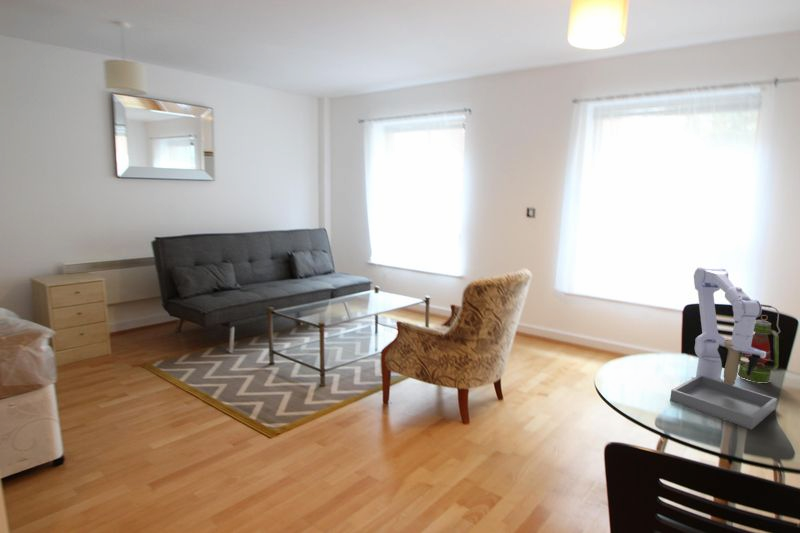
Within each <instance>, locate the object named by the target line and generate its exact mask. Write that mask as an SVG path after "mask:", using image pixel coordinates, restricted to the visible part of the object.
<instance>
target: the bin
mask: <svg viewBox="0 0 800 533" xmlns="http://www.w3.org/2000/svg"><path fill="white" fill-rule="evenodd" d="M670 390H671V391H670V398H669V401H670V402H673V403H676V404H679V405H681V406H684V407H687V408H690V409H693V410H695V411H698V412H701V413H703V414H706V415H709V416H712V417H715V418H718V419H721V420H723V419H725V420H727V421H726V422H728V421H731V422H733V423H732V424H734V423H735V424H734V425H736V424H737V425H736V426H739V427H743V428H745V429H748V430H753V429H754V428H756V427H757V426H758V425H759V424H760V423H761V422H763V421H764V420H765V419H766V418H767V417H768V416H770V415H771V414H772V413H773V412H775V410H776V407H777V402H778V398H776V397H773V396H770V395H766V394H763V393H759V392H756V391H753V390H751V389H747V388H744V387H740V386H737V385H735V384H734V385H733V386H732V385H727V384H725V383H724V381H718V380H715V379H711V378H708V377H705V376H702V375H698V376H696V377H695V378H693V379H692V378H691V379H689V380H687V381H685V382H683V383H681V384H679V385H678V386H676V387H674V388H672V389H670ZM725 420H724V421H725ZM731 422H730V423H731Z"/></svg>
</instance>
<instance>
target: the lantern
mask: <svg viewBox="0 0 800 533" xmlns="http://www.w3.org/2000/svg"><path fill="white" fill-rule="evenodd" d="M760 304H761V307H764V308H768V309H774V310H775V311H776V312H777V318H776V319H777V320H776V327H777V329H778V332H777V331H776V330H774V329H772V326H771V325H772V323H771V322H769V321H767V320H768V318H769V317H768V315H766V314H761V315H760V319H758V320H756V321H755V326H754V332H753V337H752V343H751V347H752V348H755V349H758V350H761V351H765V352H766V357H765V358H761V359H760V361H759V362H758V363H757V364H756V366H755V367H754V369H753V371H752V373H751V375H750V376H749V375H747V371H748V367H749V357H750V356H752V355H751V354H747V353H743V352H740V354H739V365H738V375H739V376H740V377H742V378H745V379H748V380H751V381H755V382H768V381H769V380H770V378H771V374H772V373H771V372H772V371H776V370H777V369H778V367H779V356H780V355H779V353H780V352H779V334H780V333H781V330H780V327H779V320H780V319H779V318H780V312H779V310H778V309H777V307H774V306H772V305H769V304H762V303H760ZM763 316H766V318H765V319H763ZM769 335H772V336H773V338H772V341H773V345H772V349H773V350H772V351H773V352H772V356H773V359H771V344H770V340H769V339H770V338H769ZM743 356H745V358H747V360H748V362H746V361H744V360H741V359H742V357H743ZM769 361H771V362H773V363H772V366H765V365H764V364H765V363H767V362H769ZM740 377H739V378H740Z"/></svg>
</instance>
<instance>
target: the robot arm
mask: <svg viewBox="0 0 800 533" xmlns="http://www.w3.org/2000/svg"><path fill="white" fill-rule="evenodd" d="M693 282H694V284H693V285H694V289H695V290H696V291H697V296H698V306H699V315H700V323H701V325H700V326H701V332H702V333H701V334H700V335H698V336H697V337H696V338H695V341H694V342H695V344H694V352H695V354H696V355H697V357H698V360H697V361H698V362H697V368H696V374H695V375H693V376H691V379H693V378H695V377H696V376H698V375H702V376H705V377H708V378H711V379H715V380H718V381H721V382H724V378H721V377H722V371H723V369H724V368H725V363H726V359H727V355H728V348H727V347H725V346H724V344H725V343H724V342H725V341H726V338H725V337H724V336H722V335H721V334H720V333H719V330H718V322H717V314H716V313H717V312H716V306H715V305H716V304H715V297H714V296H715V295H714V294H715V293H716V292H718V291H719V290H722V291H723V292H724V298H725V299H726V300H727V302H728V303H729V304H730V305H731V306H732V313H733V320H734V324H733V329H732V335H731V340H730V341H731V344H732V345H734V346H731V348H733V349H734V350H738V351H740V352H742V353H747V354H751V355H752V356H750V357H749V360H748V362H749V367H748V371H747V375H749V376H750V375H751V373H752V371H753V369H754V367H755V366H756V364H757V363H758V362H759V361H760V359H761V358H765V357H766V352H765V351H761V350H758V349H755V348H752V347H751V343H752V337H753V335H754V333H755V332H754V326H755V323H756V322H755V321H756V319H757V318H759V317H761V315H762V310H763V309H762V306H761V304H762V303H760V301H759V300H756V299H755V300H754V299H751V298H750V297H749V295H747V294H746V293H745V292H744V290H743V289H742V288H741V287H738V286H735V285H734V284H733V283H732V282H731V280H730V279H729V272H728V271H727V270H726V268H722V267H721V268H712V267H701V266H698V267H697V268H696V269H695V272H694V273H693Z"/></svg>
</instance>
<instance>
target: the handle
mask: <svg viewBox="0 0 800 533" xmlns="http://www.w3.org/2000/svg"><path fill="white" fill-rule="evenodd" d="M724 343H725V344H724V346H725V347H727V348H728V355H727V359H726V363H725V368H723V382H724V383H725V384H727V385H732V386H733V385H734V386H735V384H736V380H737V377H738V376H737V373H738V372H739V366H740V363H739V354H740V351H738V350H734V349H733V348H731V346H734V345H732V344H731V340H725V342H724Z"/></svg>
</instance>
